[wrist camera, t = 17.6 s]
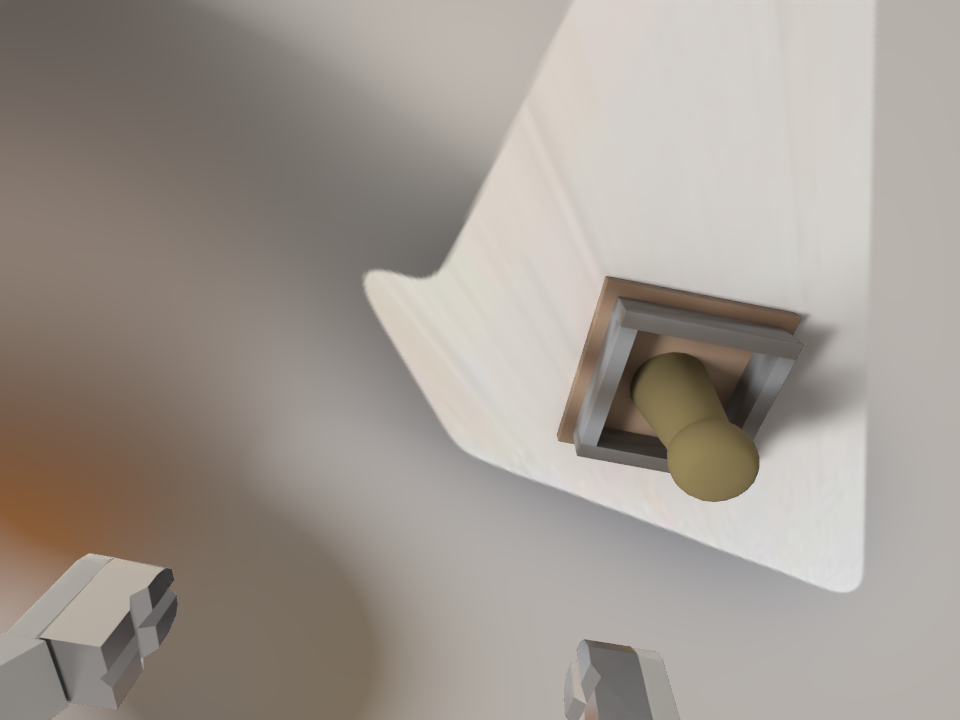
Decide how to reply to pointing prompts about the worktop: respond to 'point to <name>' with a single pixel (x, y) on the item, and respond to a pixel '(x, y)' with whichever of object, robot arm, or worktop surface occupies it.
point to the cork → (694, 428)
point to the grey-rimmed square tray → (663, 329)
